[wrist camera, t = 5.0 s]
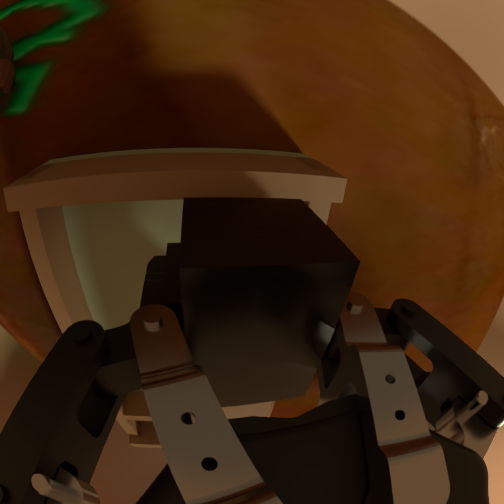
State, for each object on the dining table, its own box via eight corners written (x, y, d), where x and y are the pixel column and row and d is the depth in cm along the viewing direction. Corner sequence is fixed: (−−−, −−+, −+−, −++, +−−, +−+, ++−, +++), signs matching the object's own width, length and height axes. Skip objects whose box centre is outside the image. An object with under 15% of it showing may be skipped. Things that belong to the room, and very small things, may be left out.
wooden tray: (303, 153, 16) (441, 245, 6) (255, 403, 31) (276, 482, 22) (51, 159, 13) (-78, 258, 3) (132, 409, 28) (133, 489, 18)
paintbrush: (265, 164, 14) (360, 261, 6) (234, 430, 30) (247, 490, 23) (187, 162, 13) (179, 268, 5) (204, 433, 30) (214, 494, 22)
